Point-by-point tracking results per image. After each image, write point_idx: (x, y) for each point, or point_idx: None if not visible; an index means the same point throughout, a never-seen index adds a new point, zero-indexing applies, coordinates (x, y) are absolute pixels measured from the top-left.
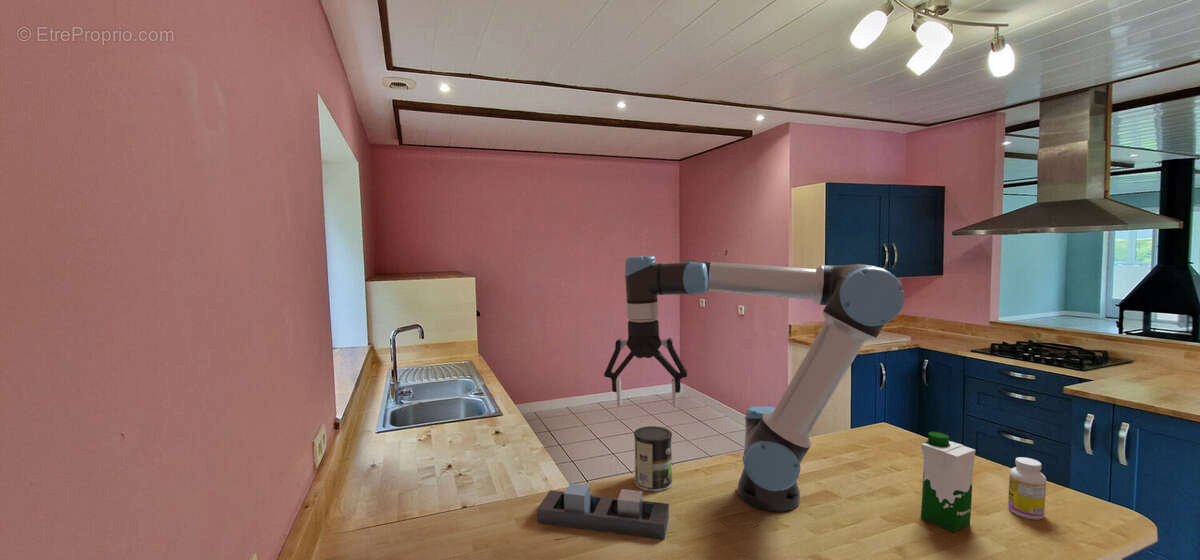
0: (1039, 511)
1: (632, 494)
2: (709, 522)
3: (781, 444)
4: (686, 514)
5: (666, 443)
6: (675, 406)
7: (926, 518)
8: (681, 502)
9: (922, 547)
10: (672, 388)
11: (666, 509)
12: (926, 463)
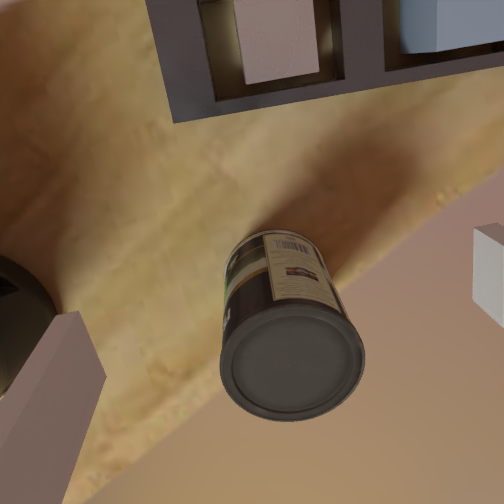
0: None
1: (272, 47)
2: (71, 139)
3: None
4: (140, 154)
5: (228, 330)
6: (56, 317)
7: None
8: (172, 208)
9: None
10: (11, 419)
11: (168, 86)
12: None
